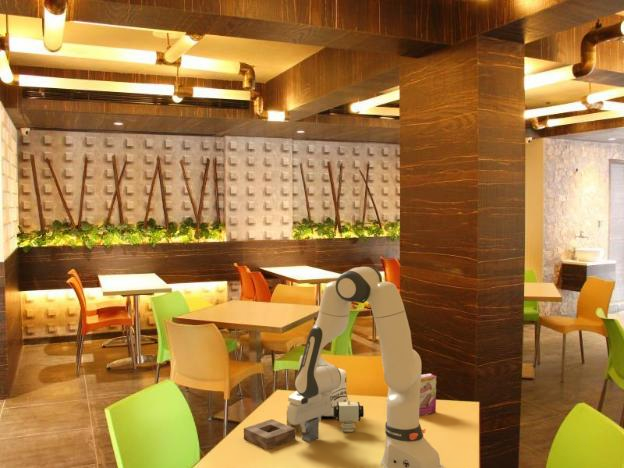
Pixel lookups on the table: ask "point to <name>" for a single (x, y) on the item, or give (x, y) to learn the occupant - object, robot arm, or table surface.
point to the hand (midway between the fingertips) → (310, 429)
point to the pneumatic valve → (348, 414)
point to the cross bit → (297, 426)
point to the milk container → (338, 393)
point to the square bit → (311, 430)
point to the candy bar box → (427, 394)
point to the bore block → (269, 433)
